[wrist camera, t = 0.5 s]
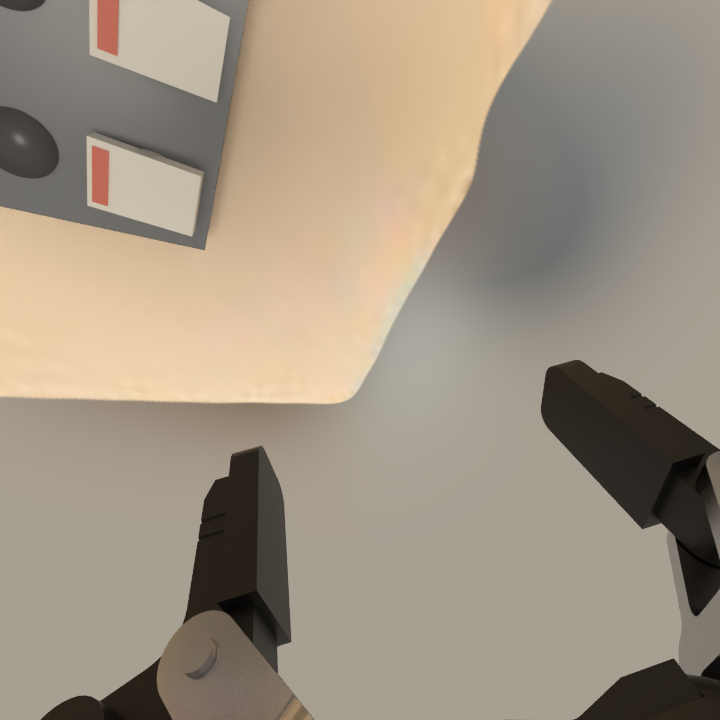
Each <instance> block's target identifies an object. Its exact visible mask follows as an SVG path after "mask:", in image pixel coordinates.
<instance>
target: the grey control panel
mask: <svg viewBox="0 0 720 720" xmlns="http://www.w3.org/2000/svg"><path fill="white" fill-rule="evenodd" d="M198 1H200V2H202V3H204V4H206V5H208V6H209V7H211V8H213V9H215V10H217V11H219V12H221V13H223V14H225V15H227V16H229V17H230V21H229V28H228V34H227V41H226V47H225V53H224V60H223V66H222V73H221V79H220V85H219V92H218V98H217V103H216V102H213V101H211V100H208V99H205V98H203V97H200V96H197V95H195V94H192V93H189V92H187V91H184V90H181V89H179V88H176V87H173V86H171V85H168V84H165V83H163V82H160V81H158V80H155V79H152V78H150V77H147V76H144V75H142V74H139V73H136V72H134V71H131V70H128V69H126V68H123V67H120V66H118V65H115V64H113V63H110V62H107V61H105V60H102V59H99V58H97V57H94V56H91V55H90V54H89V49H88V0H0V206H2V207H7V208H11V209H16V210H20V211H25V212H30V213H34V214H39V215H44V216H48V217H53V218H58V219H62V220H67V221H72V222H76V223H81V224H85V225H90V226H95V227H99V228H104V229H109V230H113V231H118V232H123V233H127V234H132V235H137V236H141V237H146V238H151V239H155V240H160V241H164V242H169V243H174V244H178V245H183V246H188V247H192V248H197V249H202V250H205V246H206V240H207V235H208V229H209V223H210V217H211V212H212V206H213V200H214V194H215V189H216V183H217V177H218V171H219V166H220V160H221V154H222V148H223V143H224V137H225V131H226V125H227V120H228V114H229V108H230V102H231V97H232V91H233V85H234V79H235V74H236V68H237V62H238V56H239V51H240V45H241V39H242V33H243V28H244V22H245V16H246V11H247V5H248V0H198ZM94 132H95V133H98V134H101V135H104V136H107V137H109V138H112V139H115V140H118V141H120V142H123V143H126V144H129V145H131V146H134V147H137V148H140V149H147V150H150V151H153V152H156V153H158V154H160V155H162V156H163V157H165V158H167V159H170V160H173V161H176V162H178V163H181V164H184V165H187V166H190V167H192V168H195V169H198V170H201V171H203V172H204V175H203V181H202V188H201V194H200V201H199V207H198V214H197V220H196V227H195V231H194V234H193V236H192V237H191V236H188V235H185V234H181V233H178V232H175V231H171V230H168V229H164V228H161V227H158V226H154V225H151V224H148V223H144V222H141V221H138V220H134V219H131V218H127V217H124V216H121V215H117V214H114V213H111V212H107V211H104V210H101V209H97V208H94V207H90V206H87V135H89V134H91V133H94Z"/></svg>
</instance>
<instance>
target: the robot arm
mask: <svg viewBox="0 0 720 720" xmlns="http://www.w3.org/2000/svg"><path fill="white" fill-rule="evenodd" d="M541 413H542V417H543V420H544V422H545V424H546V426H547V427H548V429H550V431H551V432H552V433H553V434H554V435H555V436H556V437H557V438H558V439H559V441H560V442H561V443H562V444H563V445H564V446H565V447H566V448H567V449H568V450H569V451H570V452H571V453H572V454H573V456H574V457H575V458H576V459H577V460H578V461H579V462H580V463H581V464H582V465H583V466H584V467H585V468H586V469H587V470H588V472H589V473H590V474H591V475H592V476H593V477H594V478H595V479H596V480H597V481H598V482H599V483H600V484H601V485H602V486H603V488H605V490H606V491H607V492H608V493H609V494H610V495H611V496H612V497H613V498H614V499H615V500H616V502H618V504H619V505H620V506H621V507H622V508H623V509H624V510H625V511H626V512H627V513H628V514H629V515H630V516H631V517H632V518H633V520H634V521H635V522H636V523H637V524H638V525H639V526H640V527H641V528H642V529H644V528H648V527H651V526H654V525H657V524H660V523H662V524H663V525H664V526H665V527H666V528H667V529H668V530H669V532H668V534H667V544H668V549H669V555H670V560H671V565H672V570H673V576H674V581H675V586H676V592H677V597H678V602H679V608H680V613H681V619H682V632H681V637H680V643H679V665H680V666H679V665H678V663H677V662H676V661H675V660H674V659H671V660H668V661H665V662H663V663H660V664H657V665H654V666H651V667H649V668H646V669H643V670H640V671H638V672H635V673H632V674H629V675H627V676H624V677H621V678H620V679H619V680H618V681H617V682H616V683H615V684H614V685H613V686H611V687H610V688H609V689H608V690H607V691H606V692H605V693H604V694H603V695H602V696H601V697H600V698H599V699H598V700H597V701H596V702H595V703H594V704H593V705H591V706H590V707H589V708H588V709H587V710H586V711H585V712H584V713H583V714H582V715H581V716H580V717H578V718H577V719H574V720H720V449H718V448H717V447H715V446H714V445H712V444H711V443H709V442H708V441H707V440H705V439H704V438H702V437H701V436H700V435H698V434H697V433H695V432H694V431H692V430H691V429H690V428H688V427H687V426H686V425H684V424H683V423H681V422H680V421H679V420H677V419H676V418H674V417H673V416H672V415H670V414H669V413H667V412H666V411H665V410H663V409H662V408H660V407H656V404H655V403H653V402H652V401H651V400H649V399H648V398H646V397H642V396H641V393H639V392H638V391H637V390H635V389H634V388H632V387H631V386H630V385H628V384H627V383H625V382H624V381H622V380H619V379H617V378H614V377H612V376H609V375H607V374H604V373H597V372H596V371H595V370H593V369H592V368H590V367H589V366H587V365H586V364H585V363H584V362H582V361H580V360H573V361H570V362H566V363H563V364H559V365H555V366H552V367H549V368H548V370H547V372H546V377H545V383H544V391H543V397H542V404H541ZM201 521H202V524H201V525H200V531H199V542H198V543H197V550H196V556H195V563H194V569H193V575H192V581H191V588H190V594H189V600H188V607H187V612H186V616H185V619H184V622H183V625H182V626H181V627H180V628H179V629H178V630H177V632H176V633H175V634H174V635H173V637H172V638H171V639H170V641H169V642H168V644H167V646H166V648H165V649H164V652H163V654H162V656H161V657H160V658H159V659H158V660H157V661H156V662H155V663H154V664H153V665H151V666H150V667H149V668H148V669H146V670H145V671H143V672H142V673H140V674H139V675H137V676H136V677H134V678H133V679H132V680H130V681H129V682H127V683H126V684H124V685H123V686H121V687H120V688H119V689H117V690H116V691H114V692H113V693H111V694H110V695H108V696H107V697H106V698H104V699H103V700H101V701H98V700H96V699H94V698H93V697H90V696H77V697H74V698H71V699H68V700H67V701H64V702H62V703H61V704H59V705H58V706H56V707H55V708H53V709H52V710H51V711H50V712H48V713H47V714H46V715H45V716H44V717H43V718H42V719H41V720H314V718H313V717H312V716H311V715H310V714H309V712H308V711H307V710H306V708H305V707H304V706H303V705H302V703H301V702H300V701H299V700H298V699H297V697H296V696H295V695H294V694H293V692H292V691H291V690H290V689H289V687H288V686H287V685H286V683H285V682H284V681H283V680H282V678H281V677H280V676H279V675H278V665H277V646H280V645H283V644H286V643H289V642H291V628H290V608H289V589H288V571H287V551H286V533H285V514H284V501H283V495H282V491H281V487H280V484H279V481H278V479H277V477H276V475H275V472H274V470H273V468H272V466H271V463H270V461H269V459H268V457H267V454H266V452H265V450H264V448H263V447H262V446H259V447H255V448H252V449H248V450H244V451H241V452H237V453H233V454H232V456H231V461H230V472H229V476H228V477H224V478H221V479H217V480H215V482H214V484H213V486H212V487H211V489H210V491H209V493H208V494H207V496H206V498H205V500H204V505H203V512H202V518H201Z"/></svg>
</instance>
